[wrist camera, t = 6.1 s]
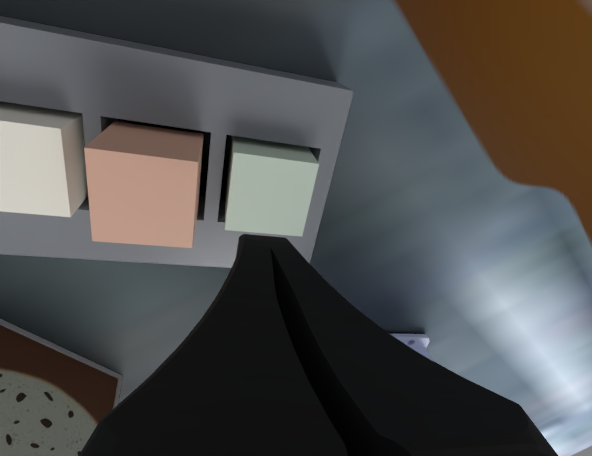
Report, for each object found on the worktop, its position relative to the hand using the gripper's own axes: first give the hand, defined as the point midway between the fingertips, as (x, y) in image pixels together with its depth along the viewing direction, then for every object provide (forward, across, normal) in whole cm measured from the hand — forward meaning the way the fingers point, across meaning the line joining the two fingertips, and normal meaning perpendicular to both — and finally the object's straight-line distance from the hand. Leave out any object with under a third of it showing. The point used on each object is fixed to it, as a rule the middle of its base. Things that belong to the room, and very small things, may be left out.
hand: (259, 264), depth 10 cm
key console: (+8, +4, 0) cm, 9 cm away
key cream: (+8, +8, 0) cm, 12 cm away
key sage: (+8, -1, 0) cm, 8 cm away
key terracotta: (+7, +4, 0) cm, 8 cm away
